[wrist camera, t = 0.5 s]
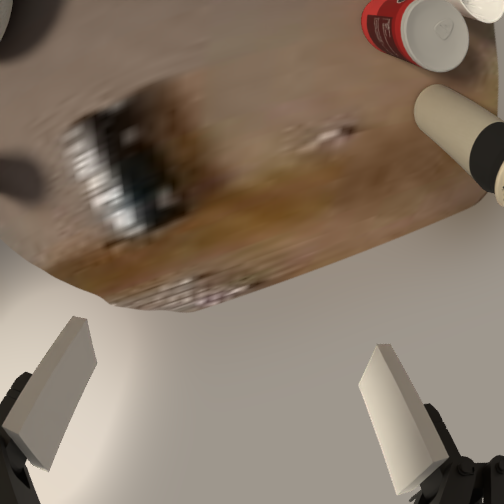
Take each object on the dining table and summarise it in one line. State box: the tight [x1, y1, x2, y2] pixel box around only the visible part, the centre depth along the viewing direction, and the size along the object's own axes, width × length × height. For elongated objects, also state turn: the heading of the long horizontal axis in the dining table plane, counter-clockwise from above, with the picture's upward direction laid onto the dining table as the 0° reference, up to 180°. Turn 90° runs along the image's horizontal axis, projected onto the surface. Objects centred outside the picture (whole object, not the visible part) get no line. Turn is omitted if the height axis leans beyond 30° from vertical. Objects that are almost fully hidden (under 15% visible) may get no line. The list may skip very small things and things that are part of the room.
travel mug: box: [414, 84, 504, 207], centre depth 27 cm, size 8×8×18 cm
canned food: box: [361, 0, 469, 72], centre depth 22 cm, size 8×8×11 cm
